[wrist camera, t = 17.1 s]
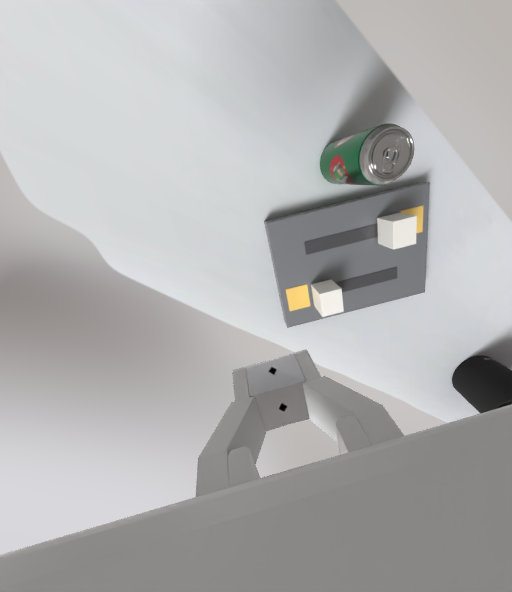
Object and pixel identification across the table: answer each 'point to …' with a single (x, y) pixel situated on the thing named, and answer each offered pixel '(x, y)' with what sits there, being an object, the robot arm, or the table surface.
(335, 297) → the block
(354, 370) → the table surface
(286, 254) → the switch panel
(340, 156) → the soda can
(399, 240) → the block
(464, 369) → the pen holder
